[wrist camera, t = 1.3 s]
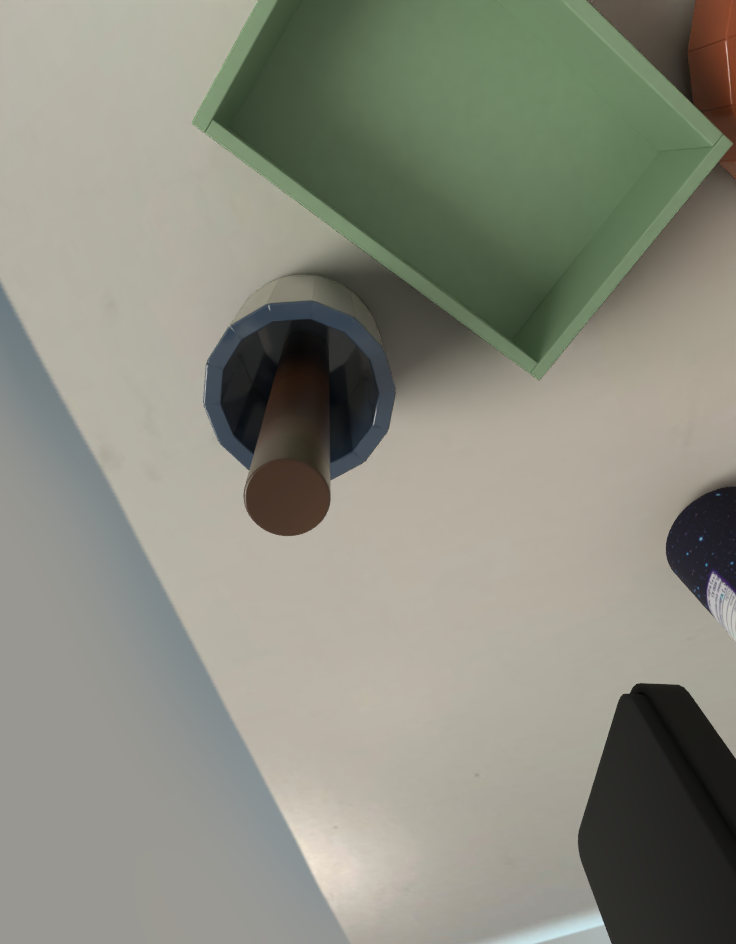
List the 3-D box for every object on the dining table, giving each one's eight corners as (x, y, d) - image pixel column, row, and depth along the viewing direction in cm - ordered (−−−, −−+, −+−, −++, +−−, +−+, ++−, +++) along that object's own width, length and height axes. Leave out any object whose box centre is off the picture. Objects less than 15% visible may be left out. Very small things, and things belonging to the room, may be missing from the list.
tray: (213, 132, 25) (190, 123, 21) (364, -139, 22) (372, -211, 18) (509, 353, 29) (539, 381, 25) (670, 149, 26) (734, 143, 22)
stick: (272, 360, 28) (226, 509, 15) (298, 321, 28) (273, 442, 15) (312, 386, 29) (299, 551, 16) (338, 348, 28) (347, 488, 15)
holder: (203, 369, 29) (168, 422, 23) (284, 240, 27) (270, 258, 21) (325, 446, 31) (324, 515, 24) (409, 330, 29) (432, 372, 22)
